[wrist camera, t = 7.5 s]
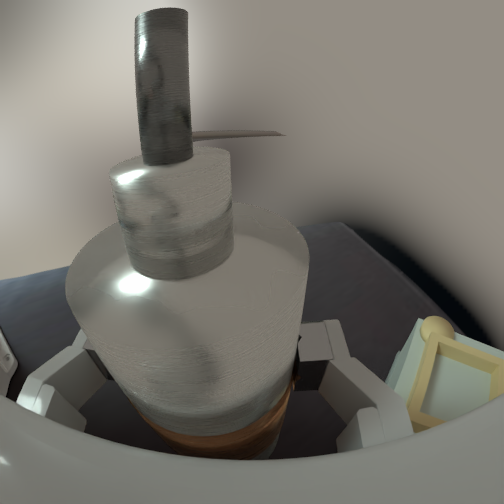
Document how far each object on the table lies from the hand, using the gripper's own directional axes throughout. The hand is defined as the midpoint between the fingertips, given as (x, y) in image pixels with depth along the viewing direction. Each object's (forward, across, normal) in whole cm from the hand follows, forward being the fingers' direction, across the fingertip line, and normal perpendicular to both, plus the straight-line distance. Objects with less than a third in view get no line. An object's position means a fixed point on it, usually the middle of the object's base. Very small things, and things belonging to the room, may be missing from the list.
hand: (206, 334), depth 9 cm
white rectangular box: (0, -19, +19) cm, 27 cm away
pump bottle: (-1, 0, +7) cm, 7 cm away
